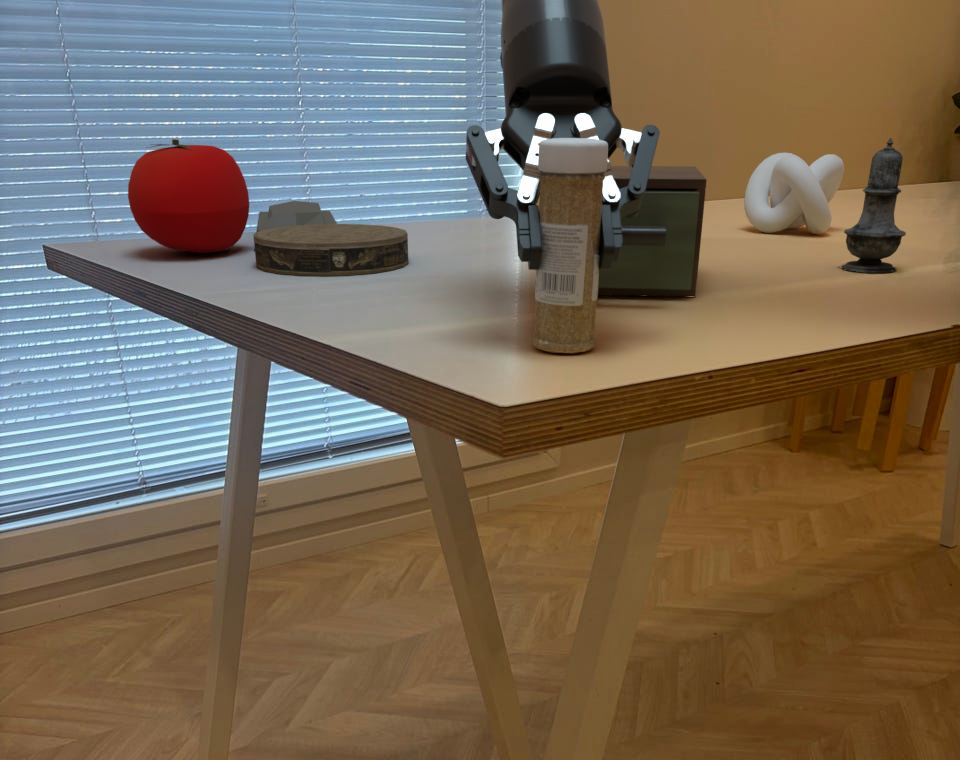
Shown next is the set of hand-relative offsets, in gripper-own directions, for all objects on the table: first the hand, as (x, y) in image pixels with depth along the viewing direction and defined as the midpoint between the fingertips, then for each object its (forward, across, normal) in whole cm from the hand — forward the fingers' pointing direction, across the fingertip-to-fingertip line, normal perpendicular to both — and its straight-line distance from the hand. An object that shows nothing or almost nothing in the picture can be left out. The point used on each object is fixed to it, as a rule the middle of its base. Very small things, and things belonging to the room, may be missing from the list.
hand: (571, 261), depth 69 cm
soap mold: (-40, -24, +49) cm, 68 cm away
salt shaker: (-20, +36, +29) cm, 50 cm away
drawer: (-13, +9, +21) cm, 26 cm away
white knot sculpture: (-41, +37, +50) cm, 75 cm away
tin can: (-25, -19, +34) cm, 47 cm away
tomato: (-32, -34, +41) cm, 62 cm away
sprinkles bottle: (+3, 0, +6) cm, 6 cm away
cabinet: (-16, +10, +25) cm, 31 cm away
